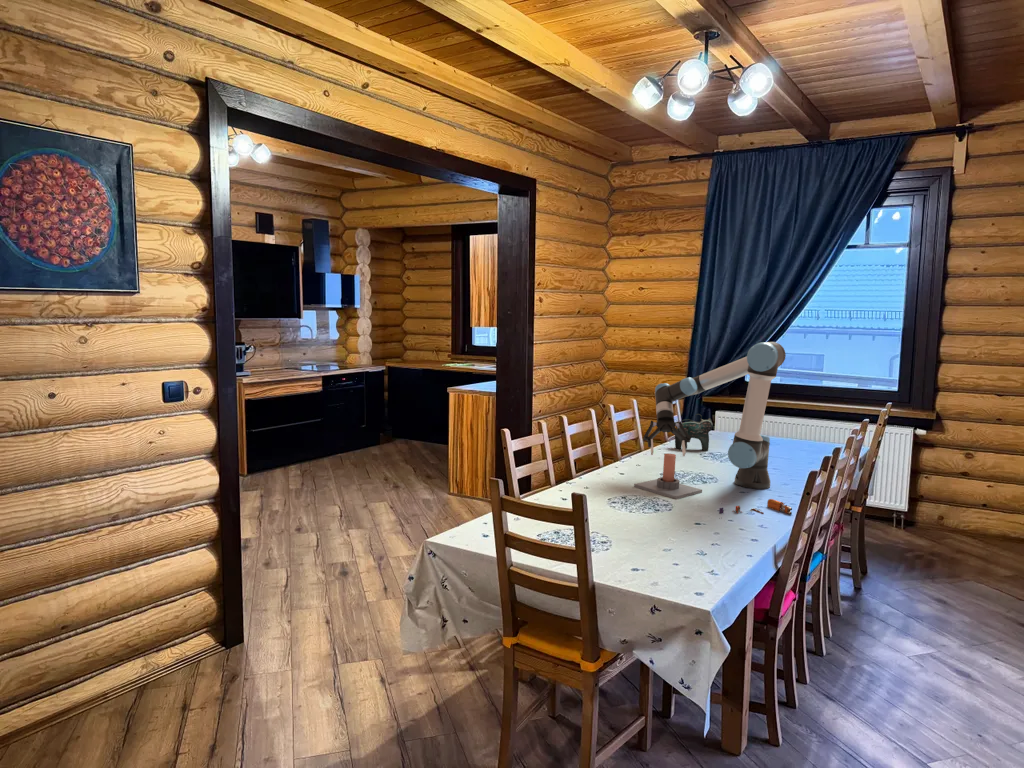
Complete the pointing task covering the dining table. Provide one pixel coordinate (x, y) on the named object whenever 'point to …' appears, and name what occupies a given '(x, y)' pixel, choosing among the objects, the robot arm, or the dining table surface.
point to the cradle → (668, 488)
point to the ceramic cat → (696, 432)
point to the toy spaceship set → (771, 504)
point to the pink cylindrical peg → (669, 467)
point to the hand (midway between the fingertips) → (668, 454)
